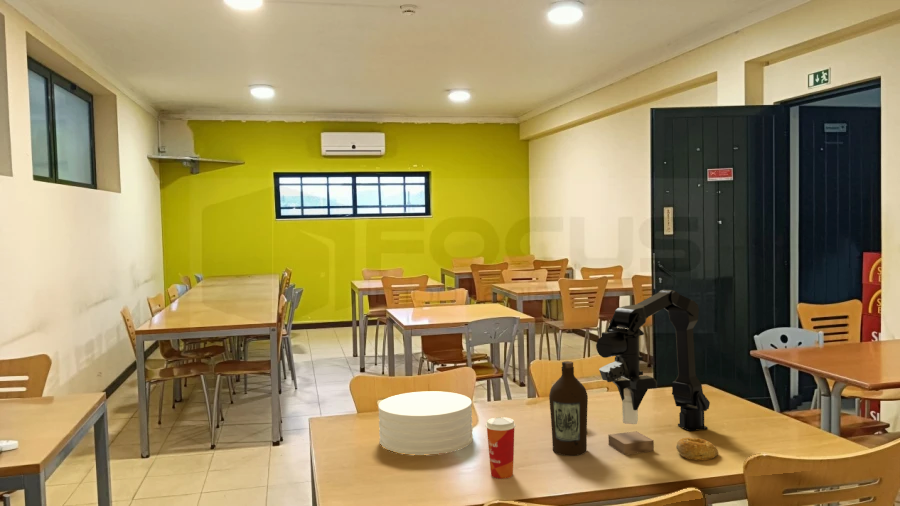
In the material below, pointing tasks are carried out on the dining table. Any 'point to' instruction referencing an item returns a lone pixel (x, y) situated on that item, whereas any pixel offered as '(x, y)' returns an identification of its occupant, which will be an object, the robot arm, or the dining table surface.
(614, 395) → the dining table surface
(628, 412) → the pepper shaker
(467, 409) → the plate stack
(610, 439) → the walnut block
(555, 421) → the olive oil
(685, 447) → the bagel
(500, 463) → the paper cup
